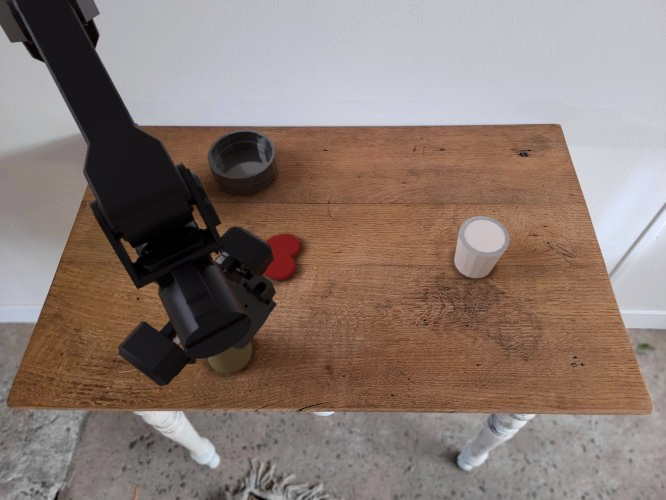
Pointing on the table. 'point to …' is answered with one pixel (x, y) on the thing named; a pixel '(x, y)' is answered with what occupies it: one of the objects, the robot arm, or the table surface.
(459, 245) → the white cylinder
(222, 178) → the bowl
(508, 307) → the table surface
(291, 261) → the lollipop
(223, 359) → the olive rounded peg
